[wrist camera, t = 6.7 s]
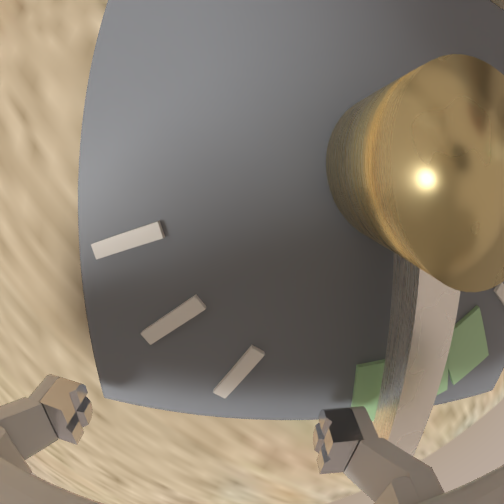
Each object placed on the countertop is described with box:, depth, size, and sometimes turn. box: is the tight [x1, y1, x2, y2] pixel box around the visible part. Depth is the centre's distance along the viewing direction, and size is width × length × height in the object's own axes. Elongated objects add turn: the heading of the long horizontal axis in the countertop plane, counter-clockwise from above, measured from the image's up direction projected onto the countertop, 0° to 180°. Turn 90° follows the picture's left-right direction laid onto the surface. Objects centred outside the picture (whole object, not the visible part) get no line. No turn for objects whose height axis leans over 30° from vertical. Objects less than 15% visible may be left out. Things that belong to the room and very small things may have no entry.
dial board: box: [78, 0, 504, 421], centre depth 9 cm, size 19×19×1 cm
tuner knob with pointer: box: [326, 54, 504, 456], centre depth 7 cm, size 12×4×4 cm, turn 6°
